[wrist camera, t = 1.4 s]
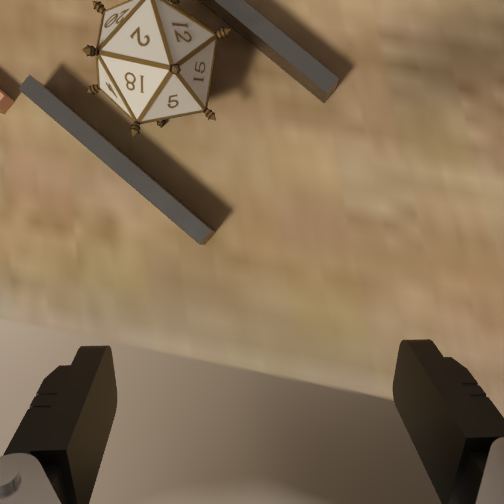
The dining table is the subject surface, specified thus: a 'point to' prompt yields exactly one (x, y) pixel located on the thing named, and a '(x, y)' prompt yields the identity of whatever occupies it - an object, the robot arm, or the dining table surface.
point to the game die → (154, 60)
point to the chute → (255, 31)
